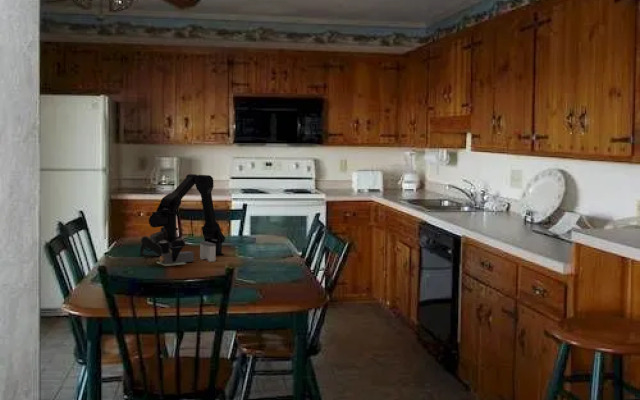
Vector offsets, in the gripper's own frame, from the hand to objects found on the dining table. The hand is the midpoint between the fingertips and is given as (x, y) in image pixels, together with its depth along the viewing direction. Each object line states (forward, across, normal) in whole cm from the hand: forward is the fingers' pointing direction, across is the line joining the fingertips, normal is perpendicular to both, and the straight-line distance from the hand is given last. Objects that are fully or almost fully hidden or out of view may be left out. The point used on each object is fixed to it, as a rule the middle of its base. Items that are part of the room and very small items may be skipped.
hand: (169, 260), depth 314 cm
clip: (+2, 0, +20) cm, 20 cm away
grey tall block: (+1, 0, +4) cm, 4 cm away
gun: (+2, -20, +3) cm, 20 cm away
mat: (+2, 0, +1) cm, 2 cm away
